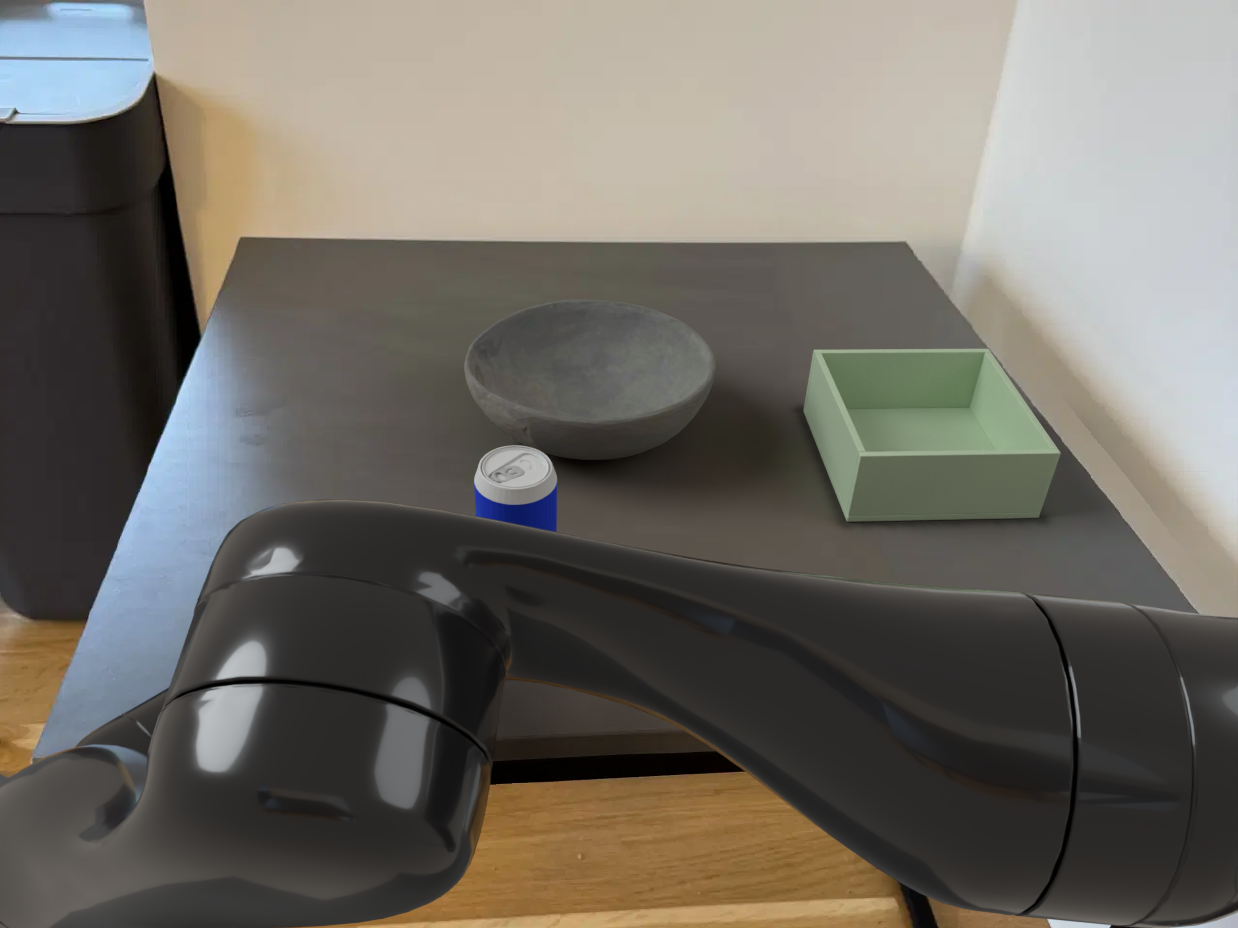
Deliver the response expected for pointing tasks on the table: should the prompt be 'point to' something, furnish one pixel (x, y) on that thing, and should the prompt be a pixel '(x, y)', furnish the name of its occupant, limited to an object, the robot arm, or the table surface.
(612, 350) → the bowl
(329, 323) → the table surface
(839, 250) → the table surface
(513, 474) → the beverage can
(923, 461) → the open box
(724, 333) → the table surface
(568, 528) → the table surface
